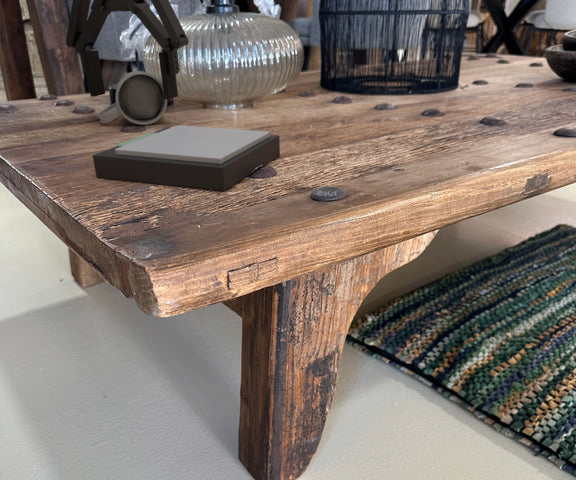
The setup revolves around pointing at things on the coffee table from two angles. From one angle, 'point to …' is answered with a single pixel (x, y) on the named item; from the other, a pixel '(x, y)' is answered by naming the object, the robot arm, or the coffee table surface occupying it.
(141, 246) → the coffee table surface
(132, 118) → the ceramic mug
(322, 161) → the coffee table surface
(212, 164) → the scale
